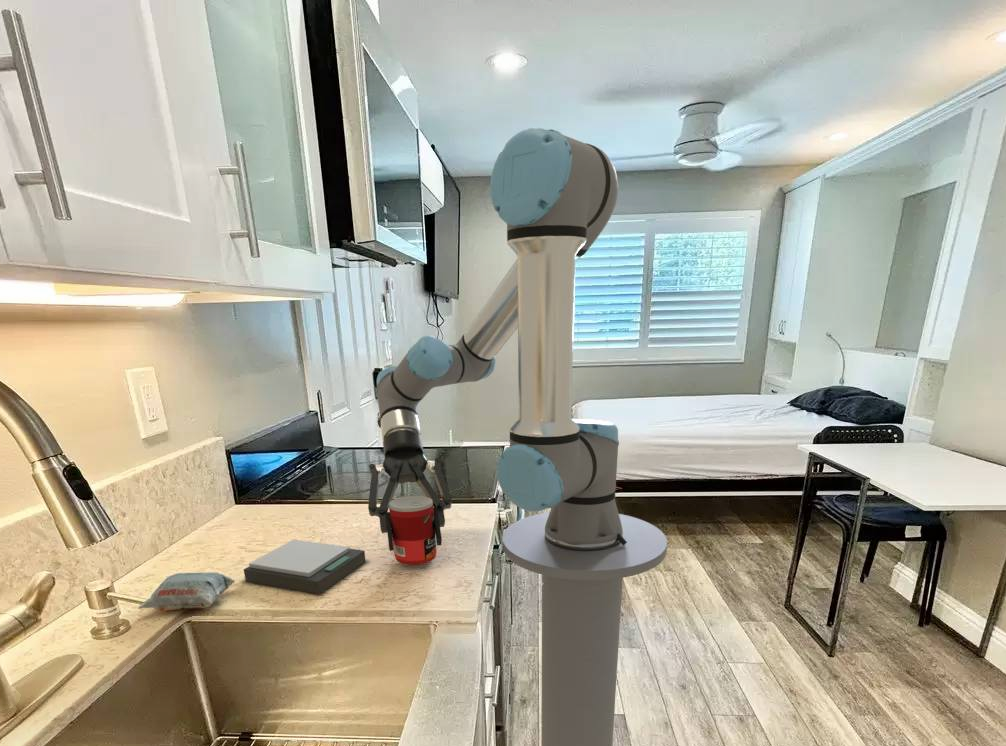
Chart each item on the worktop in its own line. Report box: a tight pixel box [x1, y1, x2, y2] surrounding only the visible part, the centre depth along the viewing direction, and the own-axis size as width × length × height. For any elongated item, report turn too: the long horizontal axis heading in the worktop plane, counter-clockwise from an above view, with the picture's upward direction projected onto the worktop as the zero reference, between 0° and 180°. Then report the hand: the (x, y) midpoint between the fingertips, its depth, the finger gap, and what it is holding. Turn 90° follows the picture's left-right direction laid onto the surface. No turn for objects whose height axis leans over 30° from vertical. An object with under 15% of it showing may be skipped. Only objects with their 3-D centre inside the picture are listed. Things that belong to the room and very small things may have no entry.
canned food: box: [388, 495, 438, 566], centre depth 105 cm, size 8×8×11 cm
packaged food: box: [137, 571, 235, 611], centre depth 93 cm, size 9×12×5 cm
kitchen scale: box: [243, 539, 367, 595], centre depth 104 cm, size 16×14×3 cm
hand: (415, 545), depth 103 cm, fingers closed on canned food, 8 cm apart
